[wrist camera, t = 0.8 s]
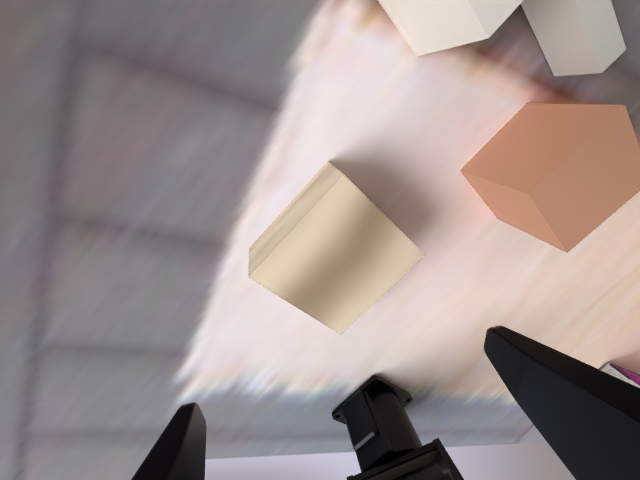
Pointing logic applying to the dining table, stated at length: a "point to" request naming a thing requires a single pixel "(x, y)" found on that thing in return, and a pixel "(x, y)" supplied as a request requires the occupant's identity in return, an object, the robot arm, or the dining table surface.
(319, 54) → the dining table surface
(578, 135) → the terracotta cube
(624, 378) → the candy bar box
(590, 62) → the plinth
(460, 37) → the offwhite cube
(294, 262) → the base block
